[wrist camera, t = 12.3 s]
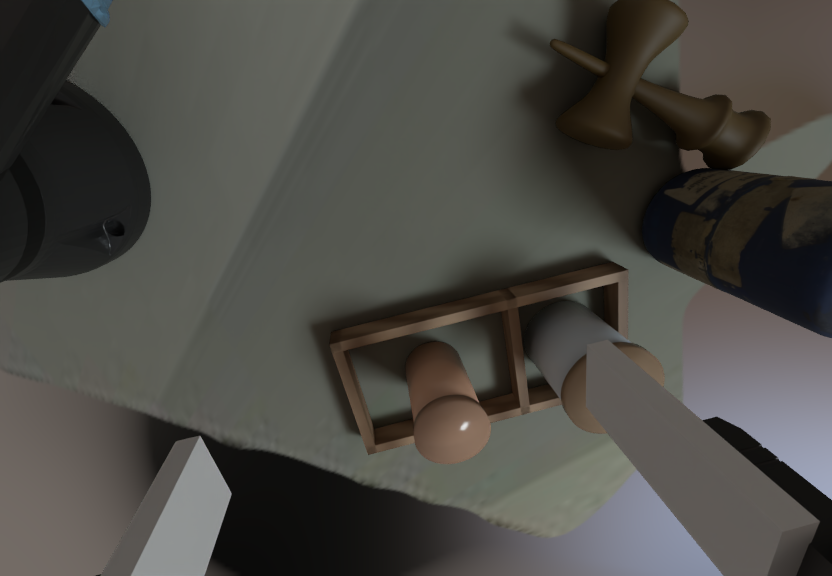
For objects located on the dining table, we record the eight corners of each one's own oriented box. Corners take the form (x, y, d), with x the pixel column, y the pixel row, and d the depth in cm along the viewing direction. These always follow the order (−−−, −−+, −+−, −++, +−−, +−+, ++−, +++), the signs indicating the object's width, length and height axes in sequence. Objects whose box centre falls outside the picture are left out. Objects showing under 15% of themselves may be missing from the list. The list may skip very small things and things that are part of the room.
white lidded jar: (525, 377, 43) (569, 443, 34) (517, 309, 40) (563, 363, 30) (598, 358, 43) (662, 419, 34) (596, 289, 40) (666, 336, 31)
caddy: (368, 437, 43) (368, 454, 41) (331, 331, 38) (329, 344, 36) (613, 374, 44) (627, 387, 42) (612, 261, 39) (628, 269, 36)
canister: (711, 145, 36) (1015, 156, 19) (736, 227, 39) (1009, 298, 23) (620, 205, 37) (830, 265, 20) (651, 280, 40) (853, 383, 24)
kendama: (683, 193, 38) (507, 111, 32) (741, 90, 35) (559, -17, 30) (740, 202, 32) (539, 106, 27) (814, 81, 29) (607, -53, 24)
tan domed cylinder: (410, 397, 42) (423, 471, 33) (397, 348, 39) (406, 414, 30) (466, 383, 42) (495, 452, 33) (457, 333, 40) (485, 394, 30)
